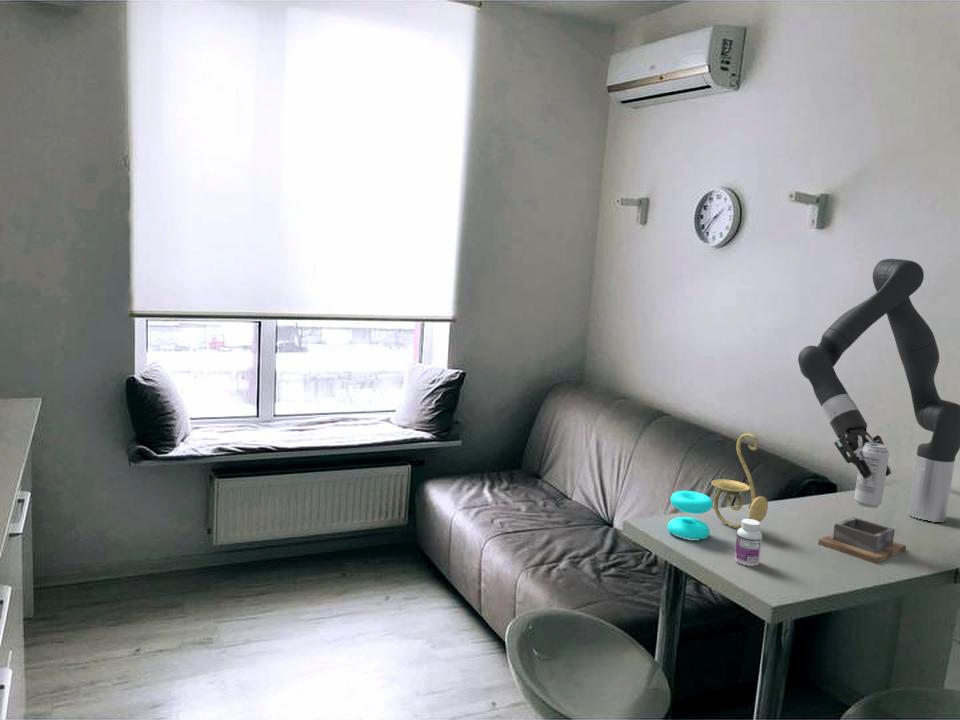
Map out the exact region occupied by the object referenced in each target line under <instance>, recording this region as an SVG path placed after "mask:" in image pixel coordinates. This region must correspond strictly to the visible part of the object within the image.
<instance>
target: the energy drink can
mask: <svg viewBox="0 0 960 720" xmlns="http://www.w3.org/2000/svg"><path fill="white" fill-rule="evenodd" d="M862 455H863V461H865V462H866V464H867V466H868V467H869V469H870V471H871V473H872V475H871V476H870V477H868V478H863V476H862V475H861V474H860V472H859V470H858V469H857V477H856V484H855V489H854V490H855V491H854V500H855V503H856V504H857V505H858V506H861V507H864V508H870V509H877V508H879V506H880V505H882V503H883V502H882V501H883V496H884V489H885V482H886V477H887V476H886V470H887V465H888V463H889V457H890V453H889V450H888V446H887V445H885V444H884V445H883V444H880V443H874V442H866V443H865V446H864V447H863V449H862Z"/></svg>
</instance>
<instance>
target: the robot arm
mask: <svg viewBox="0 0 960 720" xmlns="http://www.w3.org/2000/svg"><path fill="white" fill-rule="evenodd" d="M924 277H925V271H924V269H923V267H922V266H921V265H920V263H917V262H915V261H914V260H908V259H899V258H886V259H881V260H880V261H878V263H877V264H876V265H875V266H874V269H873V272H872V281H873V282H872V283H873V286H874V289H875V291H876V292H875V293H873V294H872V296H870V297H868V298H866V299H865V300H864V301H863V302H861V303H859V304H857V305H856V306H854V307H852V308H850V309H849V310H847V311H846V312H844V313H842V315H840V316H839V317H838V318H836V320H835V321H834V322H833V323H832V324H831V325H830V326H829V327H828V328H827V329H826V330H825V331H824V332H823V333H822V335H821V340H820V342H819V343H818V345H808V346H805V347H804V348H803V349H801V350H800V352H799V353H798V358H797V360H798V361H797V362H798V364H799V369H800V373H801V374H802V375H803V377H804V378H806V379H807V380H808V381H809V383H810V384H811V386H812V390H813V393H814V395H815V397H816V399H817V401H818V402H819V405H820V406H821V408H822V410H823V413H824V415H825V417H826V419H827V422H828V423H829V425H830V427H831V428H832V430H833V432H834V434H835V436H836V437H837V440H836V441H834V443H833V444H834V445H835V447H836V449H837V450H838V451H839V453H840V455H841V456H842V457H843V459H844V460H845V462H846V463H848V464H852V465H854V466H856V469H857V471H858V470H859V472H860V474H861V475H862V476H863V478H868V477H870V476H871V475H872V473H871V471H870V469H869V467H868V466H867V464H866V462H865V461H863V455H862V449H863V447H864V446H865V443H866V442H874V443H880V444H883V445H885V443H884V442H883V439H882V437H881V435H878V434H877V435H876V436H872V435H870V433H868V432H867V428H868V423H867V422H866V420H865V418H864V416H863V415H862V413H861V412H860V410H859V408H858V407H857V405H856V403H855V402H854V400H853V399H852V397H851V396H850V395H849V393H848V392H847V389H846V388H845V387H844V385H843V383H842V382H841V380H840V379H839V377H838V375H837V373H836V371H835V369H834V368H835V365H836V364H837V362H838V361H839V360H840V358H841V357H842V356H843V354H844V353H845V351H847V350H848V349H849V348H850V347H851V346H852V345H853V344H854V343H856V341H857V340H858V339H859V338H860V337H861V336H862V335H863V334H864V333H865V332H866V331H867V330H868V329H870V327H871V326H872V325H874V324H876V322H877V321H879V320H880V319H881V318H882V317H883V316H885V315H886V316H887V319H888V324H889V325H890V329H891V332H892V334H893V337H894V342H895V344H896V349H897V351H898V355H899V358H900V361H901V364H902V365H903V369H904V373H905V376H906V379H907V383H908V386H909V390H910V396H911V400H912V406H913V407H912V408H913V411H914V416H915V419H916V420H915V421H916V422H917V424H918V425H919V426H920V427H921V429H924V430H926V431H928V432H931V433H932V437H931V440H930V441H929V442H926V443H921V444H919V445H918V446H917V451H916V456H915V457H916V458H915V463H914V471H913V476H912V485H911V491H910V498H909V504H908V512H907V514H908V515H909V517H911V516H912V518H913V517H915V518H914V519H916V518H918V519H917V520H919V519H923V520H928V521H933V522H932V523H934V522H942V523H945V522H946V521H947V520H946V519H947V514H948V507H949V500H950V495H951V494H950V493H951V487H952V482H953V481H952V480H953V476H954V475H953V474H954V468H955V462H956V456H957V454H958V453H959V451H960V404H958V403H956V402H951V401H949V400H945V399H942V398H941V397H940V395H939V393H938V389H937V386H936V383H935V376H936V372H937V369H938V366H939V362H940V352H939V348H938V344H937V341H936V338H935V335H934V332H933V330H932V328H931V327H930V326H929V324H928V323H927V322H926V320H925V319H924V318H923V317H922V315H920V313H919V312H918V310H917V309H916V308H915V306H914V305H913V302H912V301H911V298H910V296H912V295H913V294H914V293H915V292H916V291H917V290H918V289H920V288H921V286H922V283H923V282H924V279H925V278H924ZM848 454H849V455H848ZM891 474H892V470H891V468H890V467H889V466H888V464H887V470H886V477H889V476H890V475H891ZM923 520H922V521H923ZM945 520H946V521H945ZM944 521H945V522H944Z"/></svg>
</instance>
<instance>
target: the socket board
mask: <svg viewBox="0 0 960 720" xmlns="http://www.w3.org/2000/svg"><path fill="white" fill-rule="evenodd" d="M895 531H896V529H895V528H891V527H888V526H885V525H882V524H877V523H875V522H871V521H868V520H866V519H865V520H864V519H862V518H858V517H855V516H853V517H851V518H848V519H845V520H842V521H840V522H836V523H834V526H833V533H832V534H828V535H826V536H823V537H821V538H819V539H818V545H820V546H824V547H826V548H829V549H833V550H835V551H837V552H840V553H844V554H847V555H850V556H853V557H856V558H859V559H862V560H864V561H867V562H871V563H873V564H878V563H880V562H882V561H884V560H888V559H889V558H891V557H893V556H896V555H898V554H900V553H902V552H905V551H906V550H907V545H905V544H902V543H899V542H897V541H894V539H895V538H894V537H895Z"/></svg>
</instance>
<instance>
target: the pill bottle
mask: <svg viewBox="0 0 960 720" xmlns="http://www.w3.org/2000/svg"><path fill="white" fill-rule="evenodd" d="M740 523H741V527H742V528H737V532H736V541H735V549H734V561H735V562H736V563H737V562H738V563H737V564H739V563H740V564H739V565H741V564H743V565H742V566H745V565H747V566H746V567H755V565H756V566H758V565H759V564H760V563H759V562H760V557H761V556H760V555H761V554H760V553H761V549H762V548H761V547H762V538H763V535H762V532H761V531H760V528H761V522H759V521H756V520H753V519H749V518H742V519H741V522H740Z"/></svg>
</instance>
